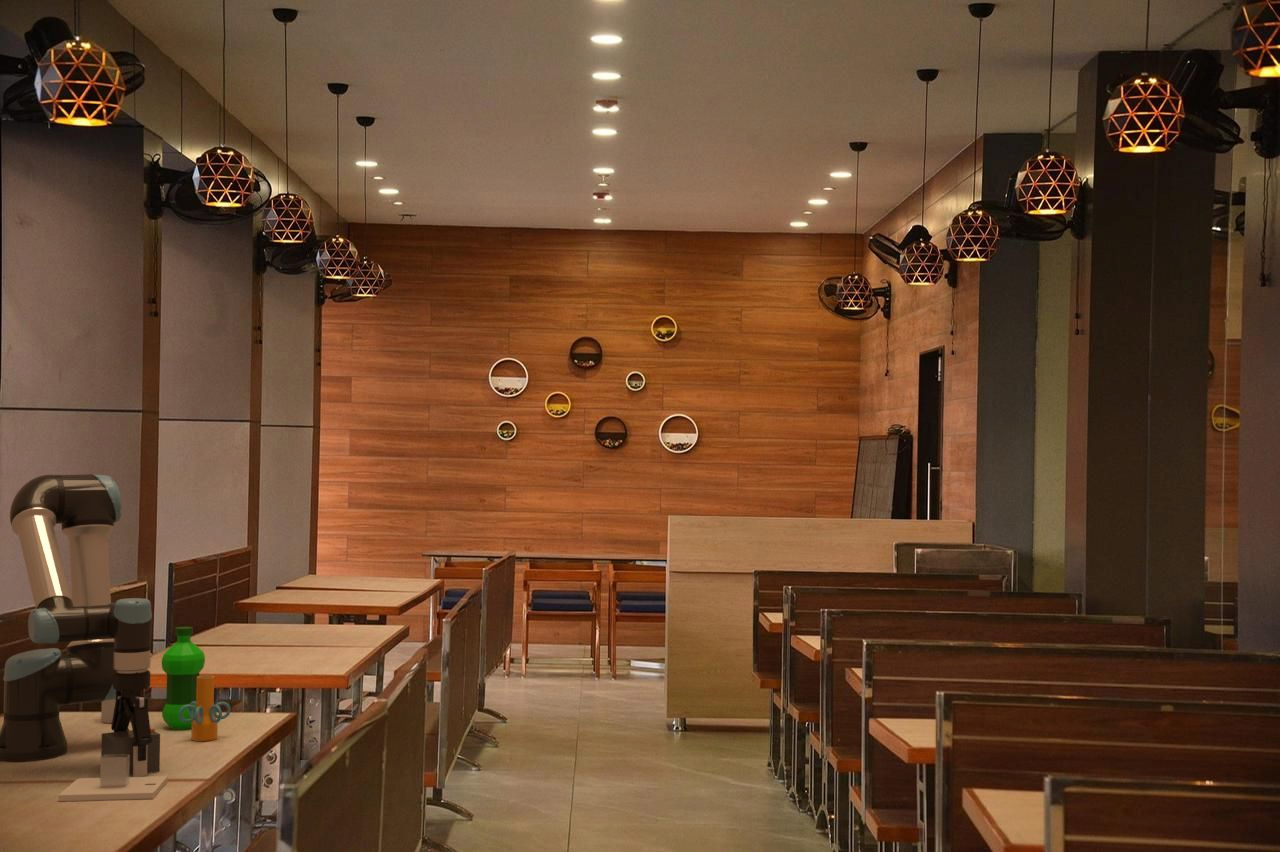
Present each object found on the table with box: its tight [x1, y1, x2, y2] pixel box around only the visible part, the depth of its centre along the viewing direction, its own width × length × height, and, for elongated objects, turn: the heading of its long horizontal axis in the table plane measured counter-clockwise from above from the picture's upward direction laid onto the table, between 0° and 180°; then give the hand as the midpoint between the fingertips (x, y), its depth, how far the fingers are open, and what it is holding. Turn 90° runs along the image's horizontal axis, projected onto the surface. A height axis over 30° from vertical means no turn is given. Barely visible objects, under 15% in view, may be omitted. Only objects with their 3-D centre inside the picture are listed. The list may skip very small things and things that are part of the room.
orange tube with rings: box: [179, 675, 231, 742], centre depth 324 cm, size 12×10×15 cm
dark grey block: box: [100, 727, 161, 776], centre depth 290 cm, size 10×8×9 cm
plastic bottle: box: [161, 626, 206, 730], centre depth 337 cm, size 10×10×25 cm
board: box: [57, 754, 169, 802], centre depth 273 cm, size 18×14×7 cm
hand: (130, 770), depth 290 cm, fingers open, 12 cm apart
